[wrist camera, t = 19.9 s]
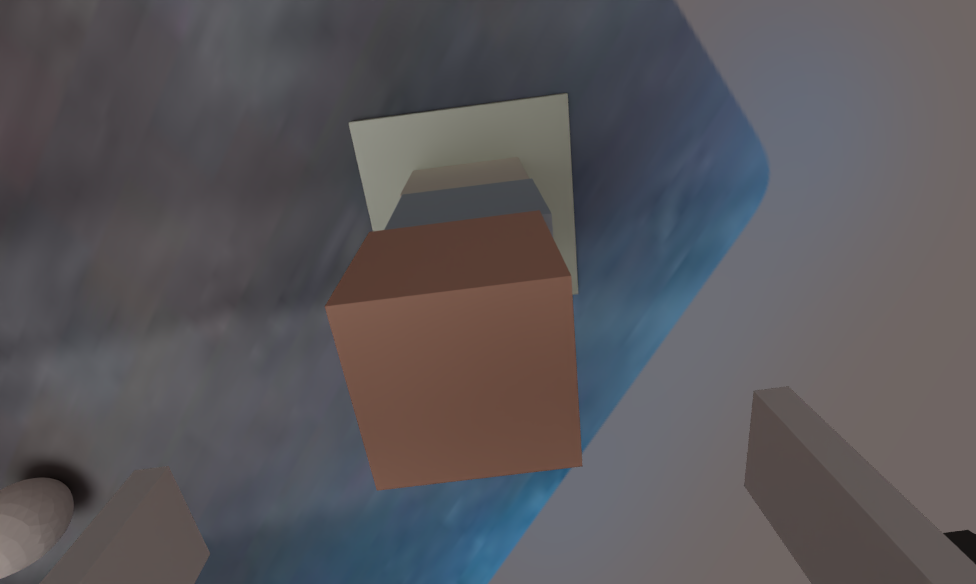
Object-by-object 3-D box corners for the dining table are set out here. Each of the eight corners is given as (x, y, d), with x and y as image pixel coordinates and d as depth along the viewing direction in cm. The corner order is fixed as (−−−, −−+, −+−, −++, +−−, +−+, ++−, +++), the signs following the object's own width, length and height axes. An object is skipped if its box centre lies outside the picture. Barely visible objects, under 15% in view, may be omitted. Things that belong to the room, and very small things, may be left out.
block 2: (541, 296, 26) (561, 359, 20) (424, 310, 26) (412, 377, 20) (532, 178, 23) (551, 213, 18) (402, 194, 23) (381, 234, 18)
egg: (10, 457, 37) (-92, 543, 30) (86, 461, 37) (2, 548, 31) (29, 510, 39) (-63, 602, 32) (100, 513, 40) (25, 605, 33)
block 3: (551, 357, 20) (582, 466, 15) (402, 375, 20) (376, 490, 15) (539, 210, 18) (571, 275, 12) (369, 231, 18) (324, 306, 12)
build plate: (576, 288, 33) (578, 294, 32) (394, 311, 33) (392, 317, 32) (564, 92, 28) (567, 93, 27) (351, 121, 28) (348, 122, 28)
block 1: (527, 255, 31) (539, 296, 26) (430, 268, 31) (422, 311, 26) (517, 156, 29) (529, 178, 23) (412, 170, 29) (399, 195, 23)
